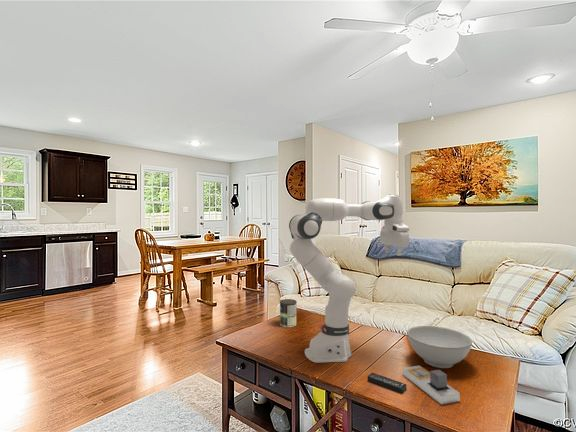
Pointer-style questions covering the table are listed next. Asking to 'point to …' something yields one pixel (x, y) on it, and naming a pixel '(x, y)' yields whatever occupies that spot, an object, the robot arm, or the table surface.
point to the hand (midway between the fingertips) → (393, 254)
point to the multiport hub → (387, 383)
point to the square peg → (438, 380)
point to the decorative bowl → (439, 345)
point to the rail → (423, 382)
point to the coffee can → (288, 312)
